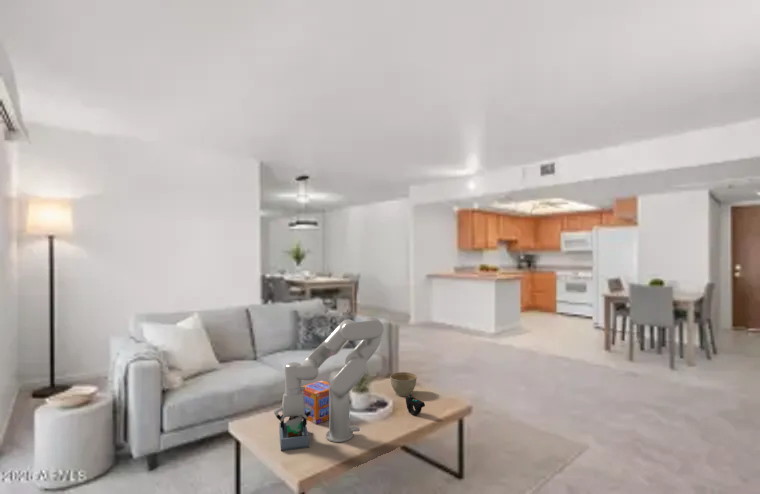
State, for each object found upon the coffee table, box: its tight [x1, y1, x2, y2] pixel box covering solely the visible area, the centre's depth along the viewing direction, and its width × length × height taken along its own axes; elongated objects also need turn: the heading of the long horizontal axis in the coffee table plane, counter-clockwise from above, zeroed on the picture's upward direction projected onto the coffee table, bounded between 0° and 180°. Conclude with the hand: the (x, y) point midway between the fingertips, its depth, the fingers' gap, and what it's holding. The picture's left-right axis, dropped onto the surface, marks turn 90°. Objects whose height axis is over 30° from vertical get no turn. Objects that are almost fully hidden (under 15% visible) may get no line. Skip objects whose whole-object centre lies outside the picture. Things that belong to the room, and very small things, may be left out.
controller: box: [404, 393, 426, 416], centre depth 220 cm, size 4×12×10 cm, turn 38°
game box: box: [302, 379, 329, 425], centre depth 219 cm, size 16×16×16 cm
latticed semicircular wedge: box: [286, 415, 303, 438], centre depth 192 cm, size 12×6×10 cm, turn 179°
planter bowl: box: [389, 371, 418, 397], centre depth 252 cm, size 16×16×11 cm
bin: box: [278, 420, 310, 452], centre depth 191 cm, size 12×18×5 cm, turn 16°
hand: (293, 427), depth 191 cm, fingers open, 9 cm apart
